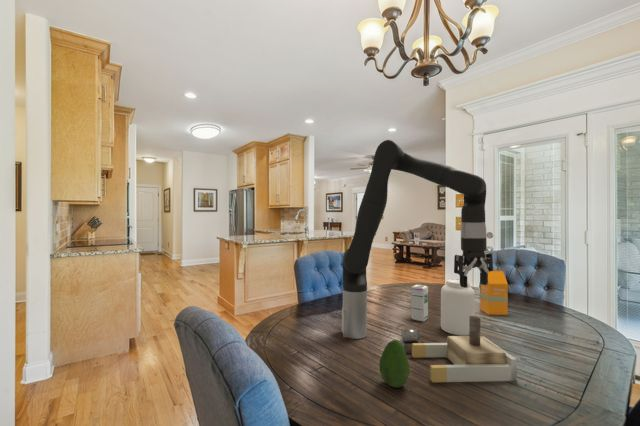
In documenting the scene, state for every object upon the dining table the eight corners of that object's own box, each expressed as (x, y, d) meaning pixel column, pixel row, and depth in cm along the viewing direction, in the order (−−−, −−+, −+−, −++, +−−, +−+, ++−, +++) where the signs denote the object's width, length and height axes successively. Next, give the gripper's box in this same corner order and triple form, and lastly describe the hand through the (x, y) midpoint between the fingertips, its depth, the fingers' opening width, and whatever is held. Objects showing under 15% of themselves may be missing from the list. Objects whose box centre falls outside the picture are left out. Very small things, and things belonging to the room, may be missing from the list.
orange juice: (507, 315, 142) (508, 272, 142) (488, 314, 142) (488, 271, 142) (498, 309, 150) (498, 269, 150) (480, 309, 150) (480, 268, 150)
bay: (432, 382, 84) (432, 360, 84) (411, 355, 100) (412, 337, 100) (516, 380, 85) (516, 359, 85) (483, 354, 101) (483, 336, 101)
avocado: (404, 377, 87) (404, 334, 87) (413, 393, 79) (413, 347, 79) (376, 377, 86) (376, 335, 86) (382, 394, 78) (383, 347, 78)
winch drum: (403, 352, 102) (404, 331, 102) (400, 347, 106) (400, 327, 106) (421, 352, 102) (421, 331, 102) (417, 347, 106) (417, 327, 106)
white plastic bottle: (479, 338, 115) (479, 284, 115) (443, 335, 117) (444, 283, 117) (469, 326, 127) (470, 278, 127) (438, 323, 130) (438, 276, 130)
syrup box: (424, 321, 132) (424, 288, 132) (410, 318, 135) (411, 286, 135) (428, 318, 136) (428, 285, 136) (415, 315, 140) (415, 283, 140)
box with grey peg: (467, 378, 86) (467, 324, 87) (447, 357, 99) (447, 311, 99) (505, 377, 87) (505, 324, 87) (480, 357, 99) (481, 311, 99)
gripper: (480, 234, 106) (480, 281, 106) (447, 236, 101) (448, 285, 101) (499, 236, 99) (500, 286, 99) (465, 237, 94) (466, 290, 94)
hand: (474, 285), depth 100 cm, fingers open, 8 cm apart
